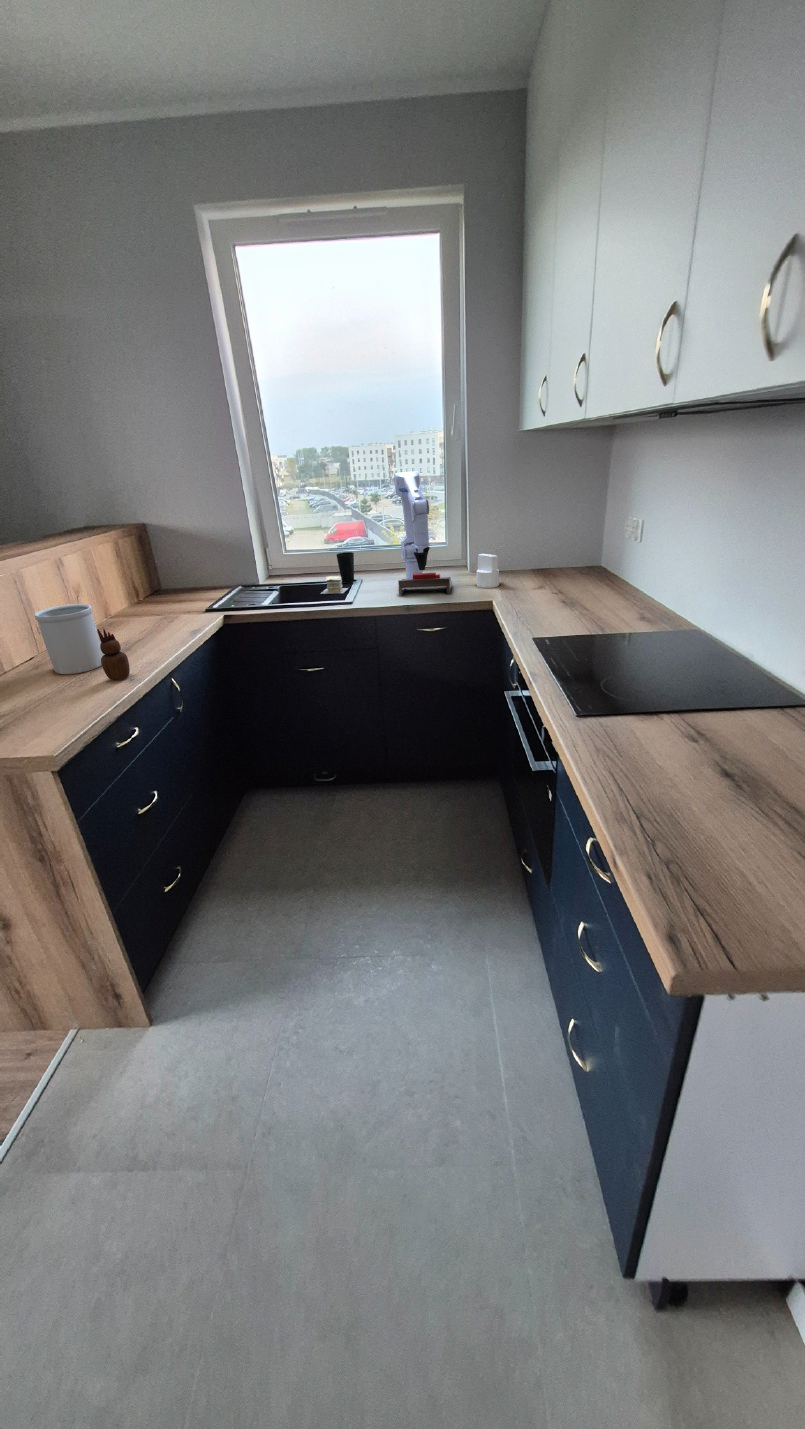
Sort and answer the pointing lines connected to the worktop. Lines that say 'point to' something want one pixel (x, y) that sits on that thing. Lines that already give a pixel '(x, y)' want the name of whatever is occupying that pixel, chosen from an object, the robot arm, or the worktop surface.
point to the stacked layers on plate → (334, 586)
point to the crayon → (425, 576)
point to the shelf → (424, 583)
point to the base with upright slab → (487, 571)
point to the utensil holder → (70, 638)
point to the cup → (346, 566)
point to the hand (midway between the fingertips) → (422, 568)
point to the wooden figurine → (113, 658)
